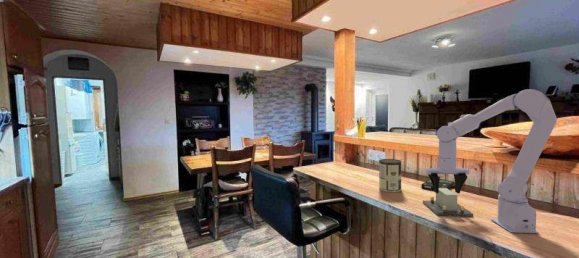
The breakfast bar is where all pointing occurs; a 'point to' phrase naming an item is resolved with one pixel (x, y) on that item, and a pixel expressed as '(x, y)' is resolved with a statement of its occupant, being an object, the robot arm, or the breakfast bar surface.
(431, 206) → the plate
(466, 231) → the breakfast bar surface
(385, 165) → the coffee can
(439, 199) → the block
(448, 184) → the disk drive
